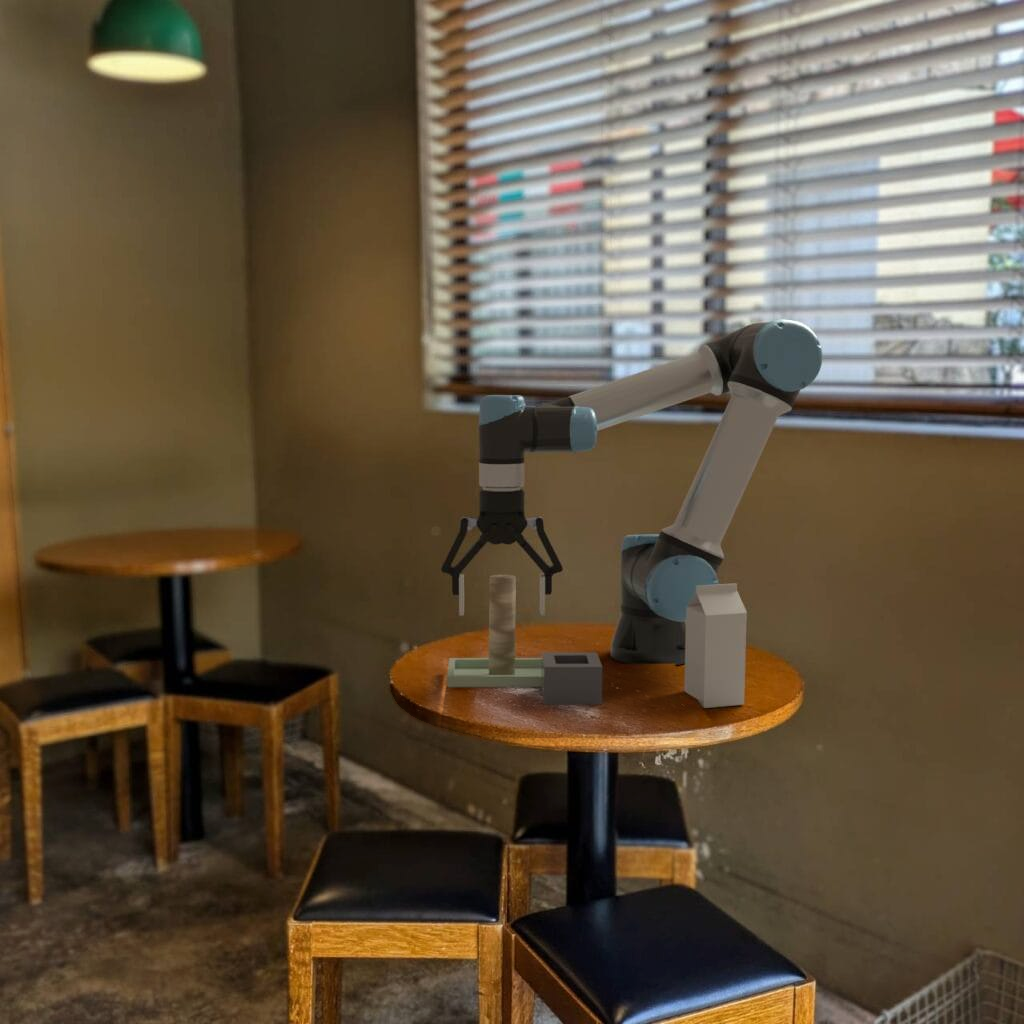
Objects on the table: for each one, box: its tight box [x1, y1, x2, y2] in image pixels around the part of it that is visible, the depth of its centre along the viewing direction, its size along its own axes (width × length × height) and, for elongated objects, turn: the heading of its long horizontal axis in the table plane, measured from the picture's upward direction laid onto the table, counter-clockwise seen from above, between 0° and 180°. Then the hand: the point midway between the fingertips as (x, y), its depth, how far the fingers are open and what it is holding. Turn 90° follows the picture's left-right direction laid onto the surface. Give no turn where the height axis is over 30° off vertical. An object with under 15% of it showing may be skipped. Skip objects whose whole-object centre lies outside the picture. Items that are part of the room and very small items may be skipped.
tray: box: [446, 657, 542, 688], centre depth 187 cm, size 18×12×3 cm, turn 91°
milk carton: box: [683, 583, 748, 709], centre depth 175 cm, size 7×7×19 cm
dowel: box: [488, 574, 517, 675], centre depth 186 cm, size 4×4×17 cm
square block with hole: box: [541, 651, 603, 706], centre depth 175 cm, size 9×9×7 cm
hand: (502, 613), depth 185 cm, fingers open, 13 cm apart
